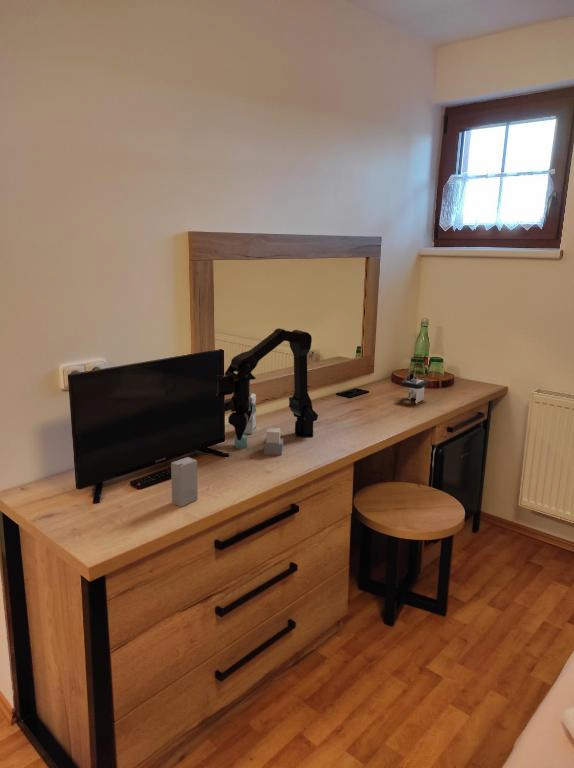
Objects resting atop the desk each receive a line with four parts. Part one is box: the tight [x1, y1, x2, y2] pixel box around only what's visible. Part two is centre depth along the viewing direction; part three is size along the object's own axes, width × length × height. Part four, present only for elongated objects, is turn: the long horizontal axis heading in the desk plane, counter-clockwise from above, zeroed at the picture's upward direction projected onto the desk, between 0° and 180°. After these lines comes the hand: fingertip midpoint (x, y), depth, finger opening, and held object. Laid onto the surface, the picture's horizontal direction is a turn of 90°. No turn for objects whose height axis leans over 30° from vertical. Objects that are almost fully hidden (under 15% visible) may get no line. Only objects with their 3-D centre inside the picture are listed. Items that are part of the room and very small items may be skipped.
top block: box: [265, 427, 281, 443], centre depth 200 cm, size 4×4×4 cm
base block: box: [263, 437, 284, 456], centre depth 201 cm, size 6×6×4 cm
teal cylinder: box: [234, 433, 248, 450], centre depth 204 cm, size 4×4×4 cm
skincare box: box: [170, 456, 198, 507], centre depth 159 cm, size 6×4×12 cm
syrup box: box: [243, 392, 257, 435], centre depth 219 cm, size 6×6×14 cm
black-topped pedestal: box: [400, 372, 431, 403], centre depth 269 cm, size 28×26×13 cm
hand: (241, 435), depth 204 cm, fingers open, 9 cm apart
